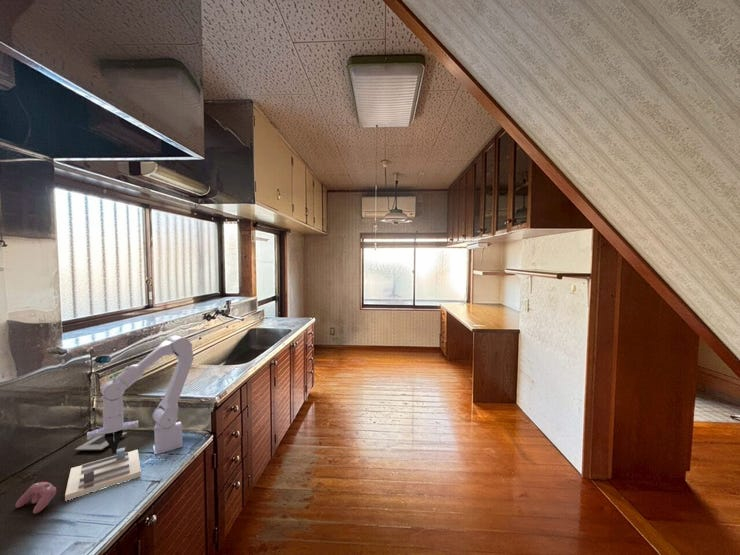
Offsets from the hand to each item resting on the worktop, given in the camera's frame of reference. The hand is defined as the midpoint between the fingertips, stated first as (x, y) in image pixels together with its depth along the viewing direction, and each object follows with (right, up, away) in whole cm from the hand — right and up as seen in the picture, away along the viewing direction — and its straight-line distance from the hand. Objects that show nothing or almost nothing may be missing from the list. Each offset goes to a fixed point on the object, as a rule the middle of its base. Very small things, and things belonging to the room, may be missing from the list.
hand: (114, 452), depth 118 cm
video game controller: (-8, -6, -20) cm, 22 cm away
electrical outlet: (-17, -6, +16) cm, 24 cm away
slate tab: (+2, -3, +1) cm, 3 cm away
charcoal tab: (+1, -3, -12) cm, 12 cm away
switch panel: (+1, -5, -5) cm, 8 cm away
